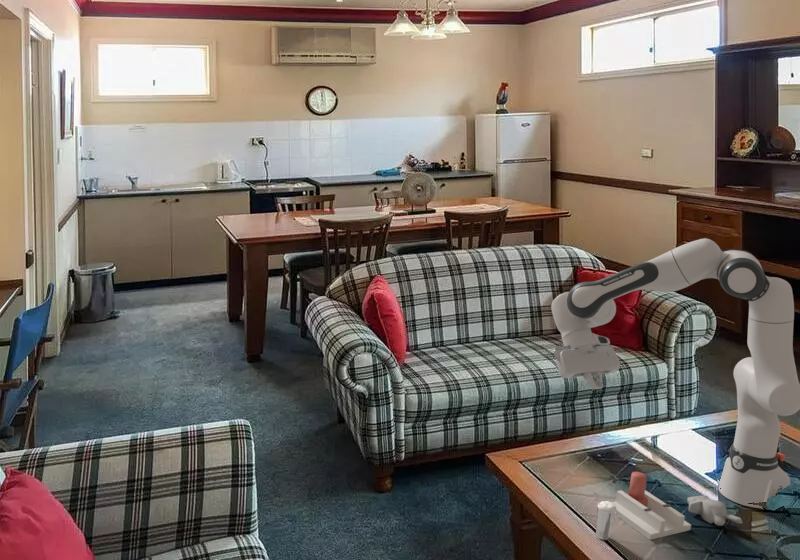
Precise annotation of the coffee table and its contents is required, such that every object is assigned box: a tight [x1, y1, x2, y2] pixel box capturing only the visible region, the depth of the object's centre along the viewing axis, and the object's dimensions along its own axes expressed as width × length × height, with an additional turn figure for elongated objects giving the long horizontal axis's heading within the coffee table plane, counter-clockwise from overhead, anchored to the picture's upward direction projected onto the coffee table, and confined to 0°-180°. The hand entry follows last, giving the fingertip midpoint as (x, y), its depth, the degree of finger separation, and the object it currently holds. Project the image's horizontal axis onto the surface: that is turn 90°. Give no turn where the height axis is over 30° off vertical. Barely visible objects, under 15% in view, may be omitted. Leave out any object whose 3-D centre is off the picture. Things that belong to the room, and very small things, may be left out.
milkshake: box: [595, 496, 616, 541], centre depth 185 cm, size 4×5×10 cm
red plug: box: [625, 471, 648, 506], centre depth 199 cm, size 4×4×8 cm
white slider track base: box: [610, 489, 692, 540], centre depth 196 cm, size 14×16×5 cm
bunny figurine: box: [686, 495, 743, 527], centre depth 198 cm, size 10×5×15 cm
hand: (598, 388), depth 212 cm, fingers closed
